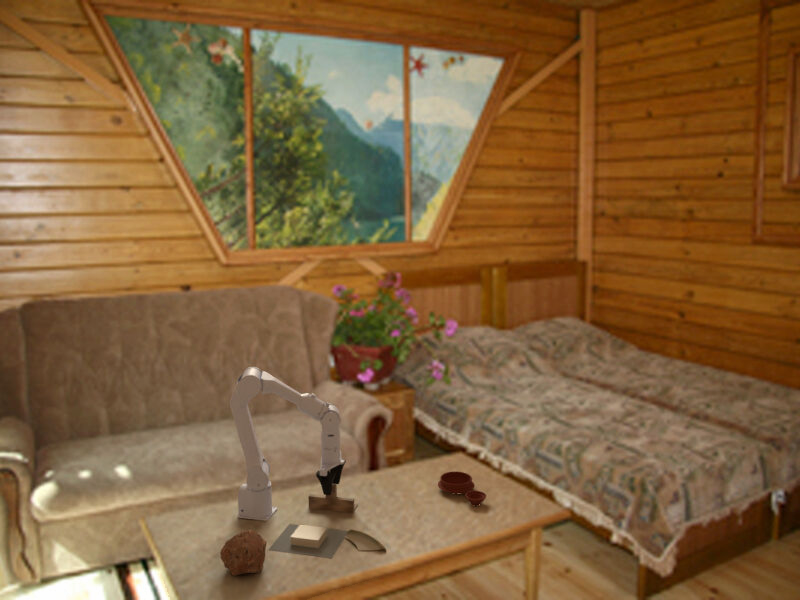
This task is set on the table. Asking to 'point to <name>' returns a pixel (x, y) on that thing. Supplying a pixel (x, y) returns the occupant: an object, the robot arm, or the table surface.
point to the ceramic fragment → (364, 541)
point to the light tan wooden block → (309, 536)
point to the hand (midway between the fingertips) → (331, 488)
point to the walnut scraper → (332, 502)
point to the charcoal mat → (324, 550)
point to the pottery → (461, 486)
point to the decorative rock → (244, 553)
